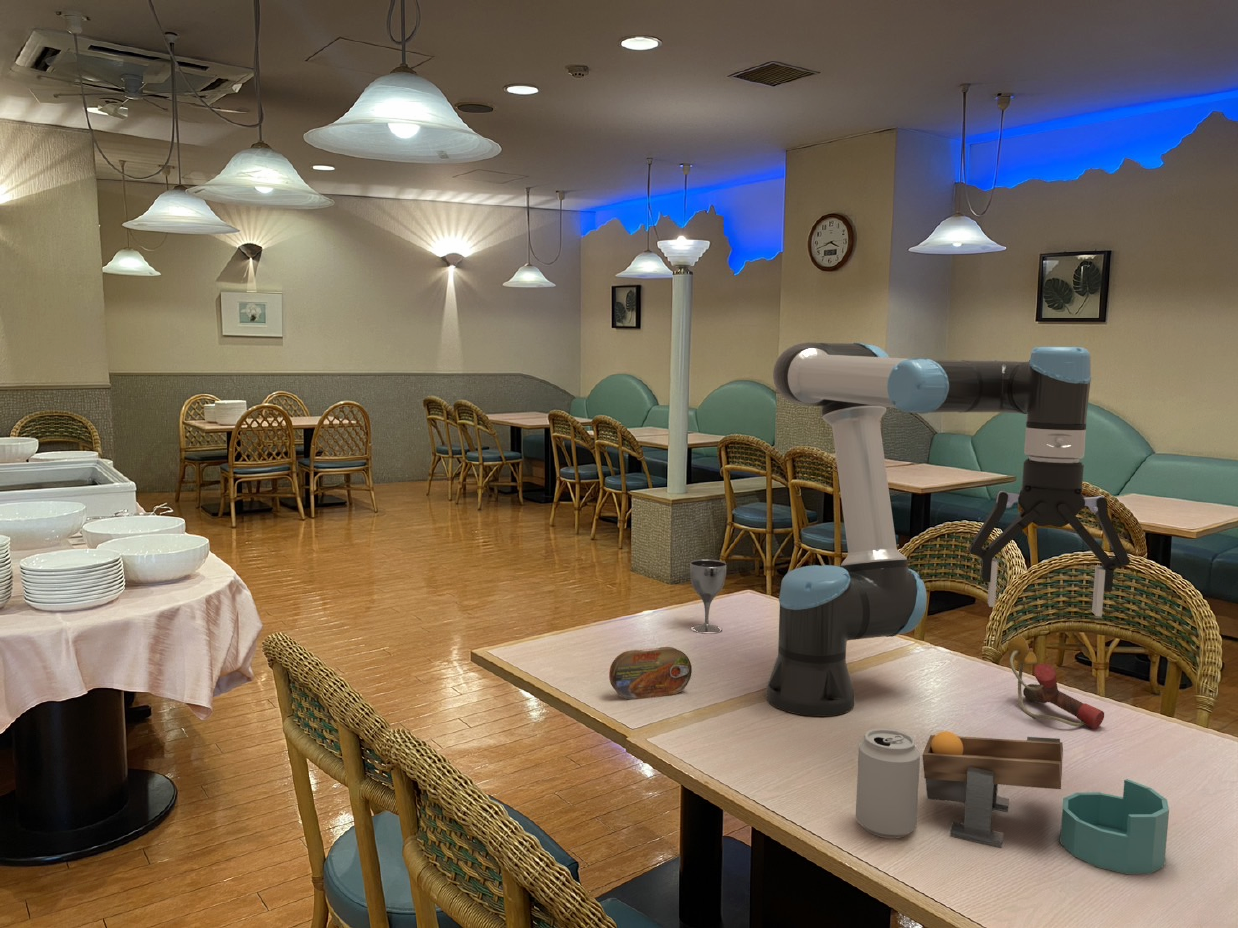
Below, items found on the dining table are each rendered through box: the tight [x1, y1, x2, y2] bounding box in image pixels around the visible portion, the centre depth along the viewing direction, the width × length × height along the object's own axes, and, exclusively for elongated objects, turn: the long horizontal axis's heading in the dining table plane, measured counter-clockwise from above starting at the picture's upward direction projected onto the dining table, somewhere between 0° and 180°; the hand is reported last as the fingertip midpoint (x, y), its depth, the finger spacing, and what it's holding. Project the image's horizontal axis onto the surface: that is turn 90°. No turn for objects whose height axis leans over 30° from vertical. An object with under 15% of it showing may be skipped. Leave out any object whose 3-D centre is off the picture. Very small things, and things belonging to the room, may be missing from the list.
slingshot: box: [1007, 636, 1105, 730], centre depth 156 cm, size 17×10×15 cm
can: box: [855, 728, 921, 839], centre depth 116 cm, size 8×8×12 cm
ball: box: [931, 731, 963, 755], centre depth 120 cm, size 4×4×4 cm
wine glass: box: [689, 558, 727, 633], centre depth 202 cm, size 8×8×15 cm
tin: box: [608, 646, 693, 701], centre depth 162 cm, size 15×3×8 cm, turn 109°
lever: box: [922, 734, 1064, 804], centre depth 120 cm, size 16×13×6 cm
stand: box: [949, 767, 1010, 849], centre depth 119 cm, size 6×13×8 cm, turn 153°
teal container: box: [1059, 778, 1170, 875], centre depth 112 cm, size 11×11×7 cm
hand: (1043, 609), depth 128 cm, fingers open, 13 cm apart
